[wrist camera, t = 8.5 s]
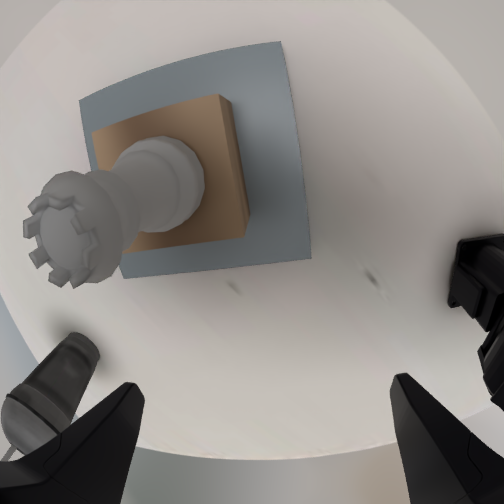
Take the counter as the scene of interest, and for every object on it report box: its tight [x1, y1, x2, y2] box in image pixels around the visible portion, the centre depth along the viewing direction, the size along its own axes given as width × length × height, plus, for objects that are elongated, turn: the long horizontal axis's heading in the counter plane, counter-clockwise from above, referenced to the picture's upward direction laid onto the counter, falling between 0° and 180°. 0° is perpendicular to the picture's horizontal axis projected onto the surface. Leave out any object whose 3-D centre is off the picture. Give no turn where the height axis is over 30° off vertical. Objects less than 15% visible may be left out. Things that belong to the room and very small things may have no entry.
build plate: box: [79, 41, 312, 279], centre depth 17 cm, size 14×14×2 cm
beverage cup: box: [1, 333, 100, 461], centre depth 17 cm, size 7×7×20 cm
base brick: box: [92, 93, 250, 254], centre depth 15 cm, size 7×7×4 cm
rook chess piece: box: [23, 136, 205, 289], centre depth 9 cm, size 4×4×8 cm
